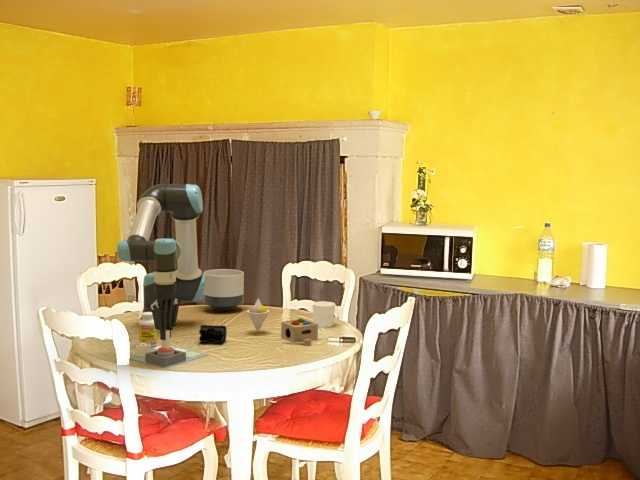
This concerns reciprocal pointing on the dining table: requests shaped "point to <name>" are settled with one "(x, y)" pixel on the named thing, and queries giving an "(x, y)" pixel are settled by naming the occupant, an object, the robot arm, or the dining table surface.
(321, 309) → the cup
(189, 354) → the board
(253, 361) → the dining table surface
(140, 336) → the supplement bottle
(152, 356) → the button housing
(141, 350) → the die
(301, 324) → the pounding toy
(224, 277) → the planter
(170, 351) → the pop button
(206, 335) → the end cap
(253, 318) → the toy
